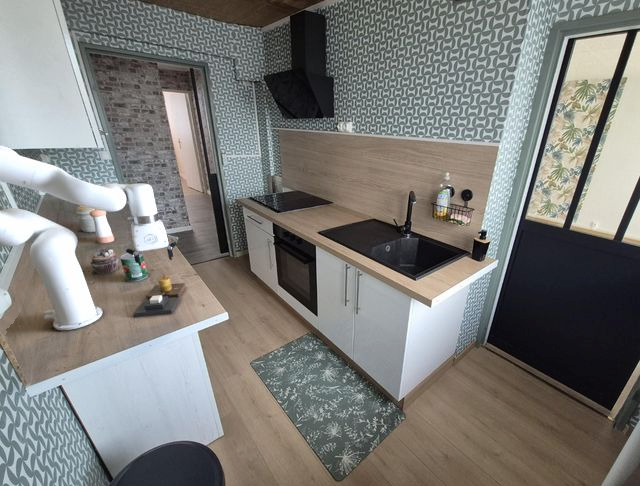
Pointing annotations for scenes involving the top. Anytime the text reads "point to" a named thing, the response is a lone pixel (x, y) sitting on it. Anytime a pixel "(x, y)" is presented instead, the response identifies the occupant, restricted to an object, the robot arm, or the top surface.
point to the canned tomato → (133, 267)
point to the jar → (86, 219)
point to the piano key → (155, 299)
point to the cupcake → (104, 261)
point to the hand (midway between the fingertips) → (155, 261)
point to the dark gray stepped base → (157, 307)
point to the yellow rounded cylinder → (165, 283)
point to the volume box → (174, 292)
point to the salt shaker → (101, 226)
